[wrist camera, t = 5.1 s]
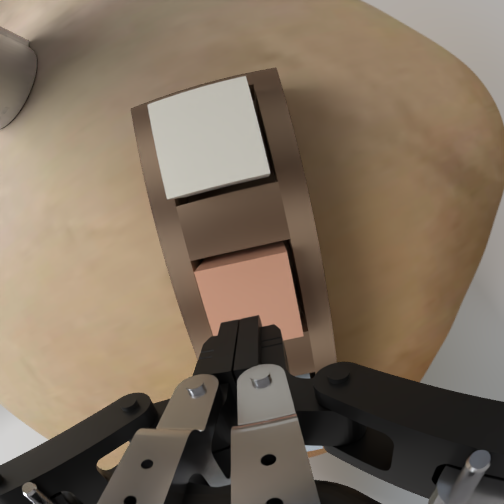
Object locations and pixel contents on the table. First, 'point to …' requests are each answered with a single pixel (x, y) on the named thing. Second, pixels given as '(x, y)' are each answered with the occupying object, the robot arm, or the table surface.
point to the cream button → (208, 138)
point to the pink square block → (250, 288)
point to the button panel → (245, 225)
